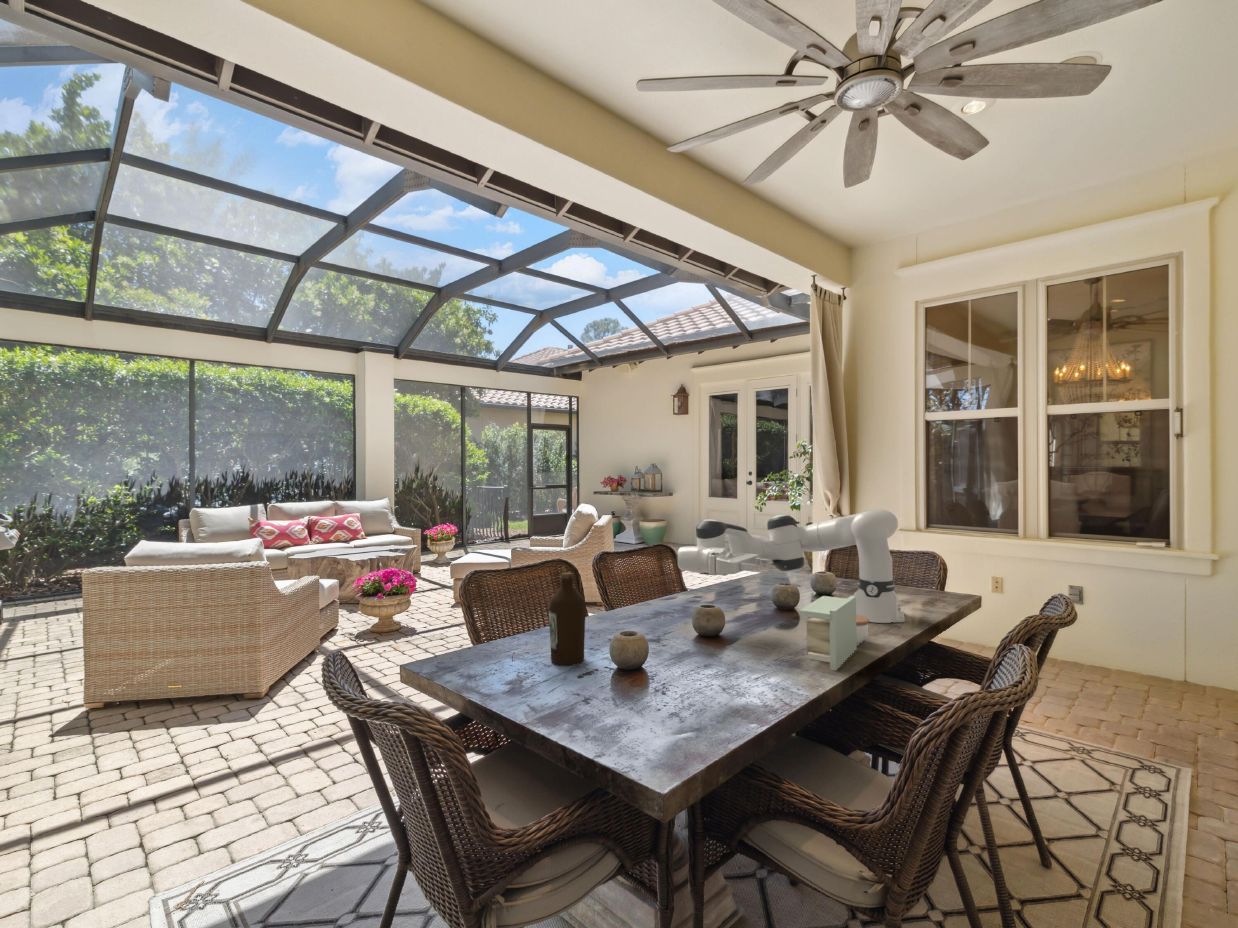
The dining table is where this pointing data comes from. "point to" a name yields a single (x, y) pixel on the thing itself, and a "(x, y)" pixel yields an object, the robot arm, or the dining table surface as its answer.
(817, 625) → the birch box
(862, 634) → the lidded jar
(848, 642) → the hutch
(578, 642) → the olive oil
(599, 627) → the dining table surface
